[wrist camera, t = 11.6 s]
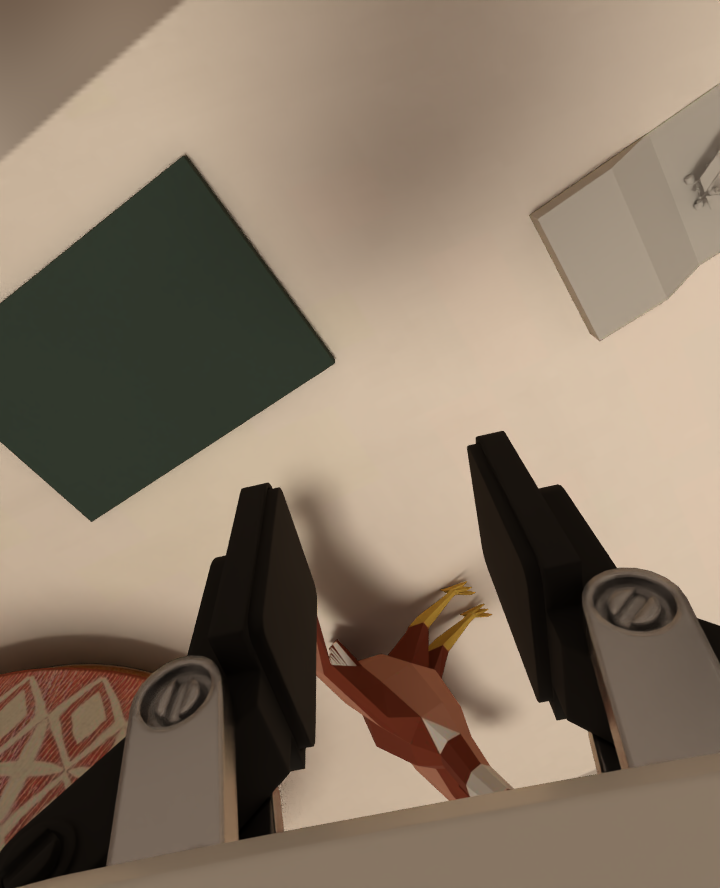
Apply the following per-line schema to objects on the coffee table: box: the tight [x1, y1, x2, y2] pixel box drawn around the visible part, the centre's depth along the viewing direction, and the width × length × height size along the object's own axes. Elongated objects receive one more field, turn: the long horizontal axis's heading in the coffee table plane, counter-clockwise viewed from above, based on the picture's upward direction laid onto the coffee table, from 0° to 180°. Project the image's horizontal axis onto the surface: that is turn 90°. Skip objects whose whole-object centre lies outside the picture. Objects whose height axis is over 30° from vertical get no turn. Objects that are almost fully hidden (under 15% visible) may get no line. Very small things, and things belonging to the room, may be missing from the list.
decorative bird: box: [316, 581, 514, 801], centre depth 35 cm, size 28×18×15 cm, turn 33°
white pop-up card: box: [529, 84, 720, 341], centre depth 28 cm, size 7×12×2 cm, turn 125°
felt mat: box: [0, 156, 335, 522], centre depth 31 cm, size 12×18×1 cm, turn 123°
